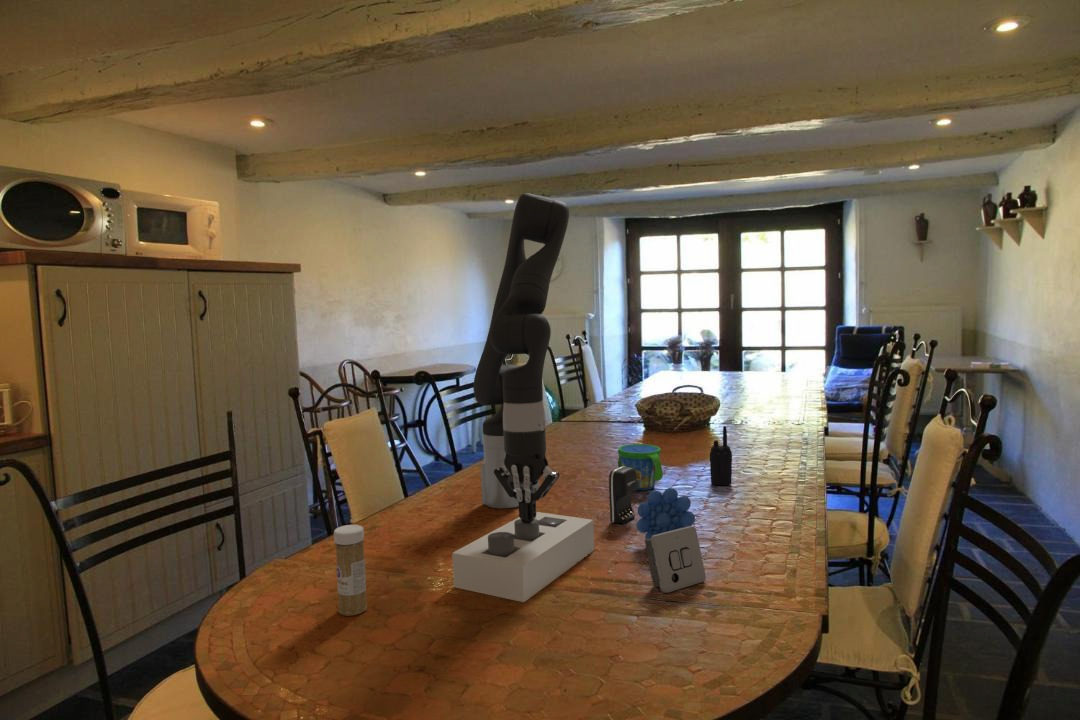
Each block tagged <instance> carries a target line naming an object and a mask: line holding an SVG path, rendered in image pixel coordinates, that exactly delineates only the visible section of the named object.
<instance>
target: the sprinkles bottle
mask: <svg viewBox="0 0 1080 720" xmlns="http://www.w3.org/2000/svg"><path fill="white" fill-rule="evenodd" d="M364 539H365V531H364V527H363V526H361V525H359V524H346V525H341V526H339V527H337V528H335V529H334V531H333V542H334V544H335V551H336V555H335V556H336V579H337V580H336V581H337V583H336V585H337V595H338V610H337V611H338V613H339V614H340V615H342V616H347V617H350V616H351V617H352V616H357V615H359V614H362V613H363V612H366V611H367V609H368V604H367V593H366V592H367V590H366V589H367V581H366V563H365V552H364V551H365V550H364Z"/></svg>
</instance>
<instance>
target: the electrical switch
mask: <svg viewBox="0 0 1080 720" xmlns="http://www.w3.org/2000/svg"><path fill="white" fill-rule="evenodd" d="M644 546H645V549H646V555H647V559H648V564H649V570H650V575H651V579H652V580H651V581H652V585H653V587H657V588H660V589H659V590H660V591H661V592H662V593H663V594H665V593H667V594H668V593H672V592H675V591H677V590H681V589H684V588H688V587H691V586H694V585H696V584H701V583H704V582H705V581H706V578H707V575H706V570H705V566H704V560H703V556H702V552H701V546H700V542H699V539H698V533H697V528H696V527H694V526H693V525H692V526H688V527H684V528H680V529H676V530H672V531H668V532H664V533H661V534H657V535H653V536H652V538H651V539H647V540H645V539H644Z"/></svg>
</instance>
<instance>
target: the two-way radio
mask: <svg viewBox="0 0 1080 720" xmlns="http://www.w3.org/2000/svg"><path fill="white" fill-rule="evenodd" d="M722 427H723V429H722V444H721V445H719V440H716V439H715V440H714V441H713V445H712V446H711V448H710V452H709V466H710V469H709V470H710V472H709V473H710V484H711V485H713V486H730V485H732V480H733V479H732V477H733V475H732V474H733V472H732V471H733V470H732V469H733V468H732V467H733V464H732V463H733V452H732V449H731V447H730V446H729V445H728V436H727V435H728V431H727V426H726V425H724V426H722Z"/></svg>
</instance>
